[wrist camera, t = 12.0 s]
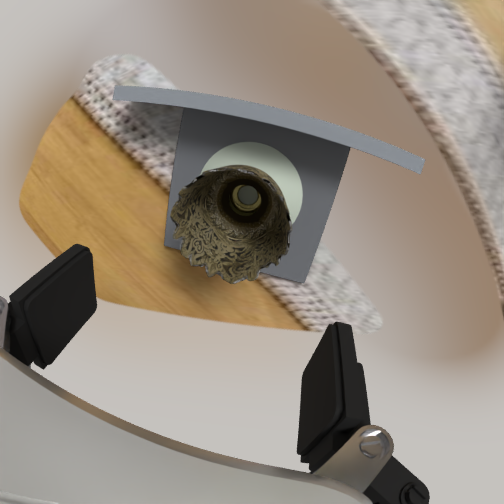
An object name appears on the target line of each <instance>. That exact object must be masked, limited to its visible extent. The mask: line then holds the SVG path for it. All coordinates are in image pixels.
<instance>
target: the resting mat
mask: <svg viewBox="0 0 504 504" xmlns="http://www.w3.org/2000/svg"><path fill="white" fill-rule="evenodd" d="M350 148H351V147H349V146H346V145H343V144H340V143H337V142H334V141H330V140H327V139H324V138H321V137H317V136H314V135H311V134H307V133H304V132H300V131H296V130H293V129H289V128H285V127H281V126H277V125H273V124H269V123H265V122H261V121H257V120H252V119H248V118H243V117H238V116H233V115H228V114H223V113H218V112H212V111H206V110H200V109H194V108H187V107H184V110H183V116H182V121H181V126H180V131H179V137H178V143H177V149H176V155H175V161H174V168H173V174H172V181H171V189H170V196H169V204H168V213H167V221H166V231H165V241H164V246H168V247H171V248H175V249H178V250H180V245H181V242H182V240H176V239H173V232H174V230H175V228H176V226H175V224H174V222H173V221H172V220H171V217H170V214H171V210H172V208H173V205H174V204H175V202H176V201H177V199H178V198H179V196H178V194H179V192H180V191H181V189H182V188H183V187H184V186H187V185H188V184H190V183H191V182H192V181H193V180H194V179H195V178H196V177H198V176H200V175H201V174H202V172H204V171H207V170H211V169H216V168H220V167H224V166H229V165H248V166H252V167H255V168H258V169H260V170H262V171H264V172H265V173H267V174H268V175H269V176H270V177H272V179H273V180H274V181H275V182H276V183H277V184H278V186H279V187H280V189H281V191H282V193H283V195H284V198H285V201H286V204H287V207H288V210H289V213H290V214H289V215H290V219H291V221H292V232H290V247H289V251H288V253H287V255H286V256H282V257H281V260H280V263H279V264H278V265H277V266H275V264H273V263H272V264H271V265H270V266H269V267H268V268H264V269H262V270H261V271H260V272H262V273H266V274H270V275H274V276H277V277H281V278H285V279H289V280H293V281H296V282H300V283H304V282H305V280H306V277H307V275H308V272H309V269H310V267H311V264H312V261H313V258H314V256H315V253H316V250H317V248H318V245H319V242H320V239H321V236H322V233H323V231H324V228H325V225H326V222H327V219H328V216H329V213H330V210H331V207H332V204H333V202H334V199H335V195H336V192H337V189H338V186H339V183H340V180H341V177H342V174H343V171H344V167H345V164H346V161H347V157H348V154H349V151H350ZM238 197H239V199H240V201H241V202H242V203H244V204H253V203H254V202H255V201H256V200H257V197H258V194H257V191H256V190H255V188H253V187H251V186H244V187H242V188H241V189H240V190H239V193H238ZM180 239H182V238H180Z"/></svg>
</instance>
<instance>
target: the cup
mask: <svg viewBox="0 0 504 504" xmlns="http://www.w3.org/2000/svg"><path fill="white" fill-rule="evenodd" d="M244 186H251V187H253V188H255V190H256V191H257V194H258V197H257V200H256V201H255V202H254V203H253V204H244V203H242V202H241V201H240V199H239V197H238V193H239V190H240V189H241V188H242V187H244ZM178 196H179V198H178V199H177V201H176V202H175V204H174V205H173V208H172V210H171V214H170V217H171V220H172V221H173V222H174V224H175V226H176V228H175V230H174V232H173V239H176V240H182V242H181V245H180V252H181V254H182V256H183V257H185V258H189V260H190V265H191V266H200V267H202V266H204V265H205V268H206V273H207V276H208V277H212V276H214V275H215V274H218V275H220V276H221V277H222V279H223V280H225V281H227V282H229V283H230V284H234V283H237V282H239V281H243V280H245V279H248V281H254V280H256V279H257V278H258V276H259V273H260V271H261V270H262V269H264V268H268V267H269V266H270V265H271V264H272V263H273V264H275V266H277V265H278V264H279V263H280V260H281V257H282V256H286V255H287V253H288V251H289V247H290V232H292V221H291V219H290V215H289V214H290V213H289V210H288V207H287V204H286V201H285V198H284V195H283V193H282V191H281V189H280V187H279V186H278V184H277V183H276V182H275V181H274V180H273V179H272V177H270V176H269V175H268V174H267V173H265V172H264V171H262V170H260V169H258V168H255V167H252V166H248V165H229V166H224V167H220V168H216V169H211V170H207V171H204V172H202V174H201V175H200V176H198V177H196V178H195V179H194V180H193V181H192V182H191V183H190V184H188V185H187V186H184V187H183V188H182V189H181V191H180V192H179V194H178ZM180 238H182V239H180Z"/></svg>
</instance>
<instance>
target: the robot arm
mask: <svg viewBox="0 0 504 504" xmlns="http://www.w3.org/2000/svg"><path fill="white" fill-rule="evenodd" d="M9 297H10V301H11V302H9V303H7V301H6V299H4V298H3V297H1V296H0V504H429V499H430V496H429V491H428V489H427V487H426V486H425V484H424V483H422V482H421V481H420V480H419V479H418V478H417V477H416V476H414V475H413V474H412V473H411V472H410V471H409V470H408V469H407V468H405V467H404V466H403V465H402V464H401V463H400V462H399V461H398V460H396V459H395V458H394V457H393V456H392V453H393V449H394V444H393V440H392V438H391V436H390V435H389V433H388V432H387V431H386V430H384V429H383V428H381V427H379V426H376V425H371V424H370V415H369V407H368V399H367V392H366V384H365V377H364V371H363V366H362V364H361V363H357V358H356V351H355V344H354V339H353V332H352V327H351V325H349V324H345V323H341V322H335V323H334V324H333V325H332V324H329V325H328V327H327V329H326V331H325V333H324V335H323V337H322V339H321V341H320V342H319V344H318V346H317V348H316V350H315V352H314V354H313V355H312V357H311V359H310V361H309V363H308V364H307V366H306V368H305V370H304V372H303V375H302V385H301V403H300V418H299V431H298V443H297V454H298V455H301V462H302V463H309V470H310V471H311V472H310V473H306V472H300V471H295V470H290V469H285V468H280V467H274V466H269V465H264V464H259V463H254V462H250V461H246V460H241V459H237V458H233V457H229V456H225V455H221V454H217V453H214V452H210V451H207V450H203V449H200V448H197V447H193V446H190V445H187V444H184V443H181V442H178V441H175V440H172V439H170V438H167V437H164V436H161V435H159V434H156V433H153V432H151V431H148V430H146V429H143V428H141V427H138V426H136V425H134V424H131V423H129V422H126V421H124V420H122V419H120V418H118V417H116V416H114V415H111V414H109V413H107V412H105V411H103V410H101V409H99V408H97V407H95V406H93V405H91V404H89V403H87V402H86V401H83V400H82V399H80V398H78V397H76V396H75V395H73V394H71V393H69V392H67V391H66V390H64V389H62V388H61V387H59V386H57V385H56V384H54V383H52V382H51V381H49V380H47V379H46V378H44V377H43V376H41V375H40V374H38V373H36V372H35V371H33V370H32V369H31V363H32V362H34V363H35V364H36V365H37V366H39V367H40V368H42V369H45V367H46V366H47V365H50V364H52V363H53V361H54V360H55V359H56V358H57V356H58V355H59V354H60V353H61V351H62V350H63V349H64V348H65V347H66V345H67V344H68V343H69V342H70V340H71V339H72V338H73V337H74V336H75V334H76V333H77V332H78V331H79V330H80V329H81V328H82V326H83V325H84V324H85V323H86V322H87V321H88V319H89V318H90V317H91V316H92V315H93V314H94V313H95V311H96V308H97V301H96V291H95V281H94V270H93V256H92V253H91V252H90V249H89V248H88V247H85V246H82V245H80V244H75V245H73V246H72V247H70V248H69V249H68V250H66V251H65V252H64V253H62V254H61V255H60V256H58V257H57V258H56V259H54V260H53V261H52V262H51V263H49V264H48V265H47V266H45V267H44V268H43V269H41V270H40V271H39V272H38V273H37V274H35V275H34V276H33V277H31V278H30V279H29V280H28V281H27V282H25V283H24V284H23V285H22V286H21V287H19V288H18V289H17V290H16V291H15V292H14V293H12V294H11V295H10V296H9Z"/></svg>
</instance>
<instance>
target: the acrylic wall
mask: <svg viewBox="0 0 504 504" xmlns="http://www.w3.org/2000/svg"><path fill="white" fill-rule="evenodd" d="M113 100H123V101H136V102H147V103H156V104H165V105H173V106H180V107H187V108H194V109H200V110H206V111H212V112H218V113H223V114H228V115H233V116H238V117H243V118H248V119H252V120H257V121H261V122H265V123H269V124H273V125H277V126H281V127H285V128H289V129H293V130H296V131H300V132H304V133H307V134H311V135H314V136H317V137H321V138H324V139H327V140H330V141H334V142H337V143H340V144H343V145H346V146H349V147H352V148H355V149H358V150H360V151H363V152H366V153H369V154H372V155H374V156H377V157H379V158H382V159H385V160H387V161H390V162H392V163H395V164H397V165H400V166H402V167H405V168H407V169H410V170H412V171H414V172H416V173H418V174H421V171H422V168H423V165H424V162H425V159H423V158H421V157H419V156H416V155H414V154H412V153H410V152H407V151H405V150H403V149H400V148H398V147H395V146H393V145H391V144H388V143H386V142H383V141H381V140H378V139H375V138H373V137H370V136H367V135H365V134H362V133H359V132H356V131H353V130H350V129H347V128H344V127H342V126H339V125H335V124H332V123H329V122H326V121H323V120H320V119H316V118H312V117H309V116H306V115H302V114H298V113H294V112H291V111H287V110H283V109H279V108H275V107H271V106H267V105H262V104H258V103H253V102H248V101H244V100H238V99H233V98H227V97H221V96H216V95H210V94H203V93H196V92H189V91H181V90H172V89H162V88H151V87H136V86H115V89H114V95H113Z"/></svg>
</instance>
